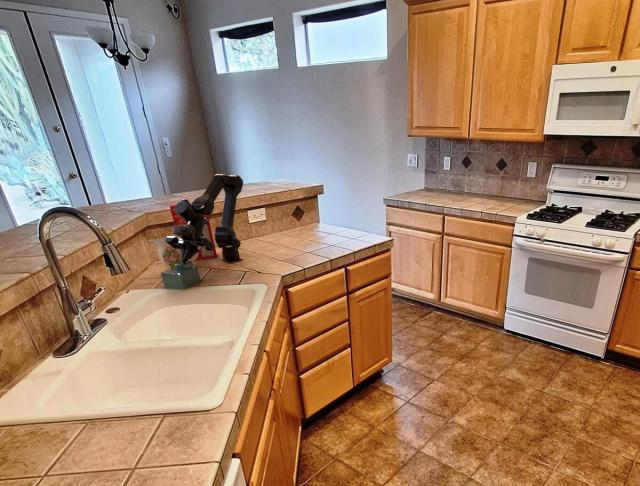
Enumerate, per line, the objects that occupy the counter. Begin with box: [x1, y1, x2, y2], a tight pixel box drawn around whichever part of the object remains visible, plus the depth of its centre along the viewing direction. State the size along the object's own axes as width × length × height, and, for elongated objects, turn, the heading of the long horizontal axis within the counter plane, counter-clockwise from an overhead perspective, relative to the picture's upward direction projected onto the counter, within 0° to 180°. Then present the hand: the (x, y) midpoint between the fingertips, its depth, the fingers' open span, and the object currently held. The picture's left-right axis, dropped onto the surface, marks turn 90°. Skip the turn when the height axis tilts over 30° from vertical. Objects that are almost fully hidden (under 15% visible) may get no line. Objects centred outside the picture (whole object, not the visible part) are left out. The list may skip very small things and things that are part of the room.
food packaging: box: [169, 201, 218, 261], centre depth 199 cm, size 15×5×25 cm, turn 115°
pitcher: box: [147, 236, 198, 271], centre depth 186 cm, size 11×18×14 cm, turn 113°
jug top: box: [160, 261, 201, 291], centre depth 170 cm, size 11×9×8 cm
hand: (183, 262), depth 170 cm, fingers closed, pressing on lid button
